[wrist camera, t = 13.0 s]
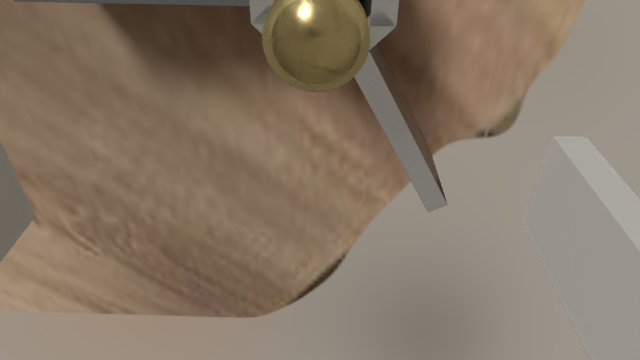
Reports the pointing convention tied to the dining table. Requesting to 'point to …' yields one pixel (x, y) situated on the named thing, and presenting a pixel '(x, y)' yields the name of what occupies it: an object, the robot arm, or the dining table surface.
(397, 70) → the dining table surface
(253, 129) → the dining table surface
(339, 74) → the pin
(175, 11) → the dining table surface
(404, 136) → the hinge
